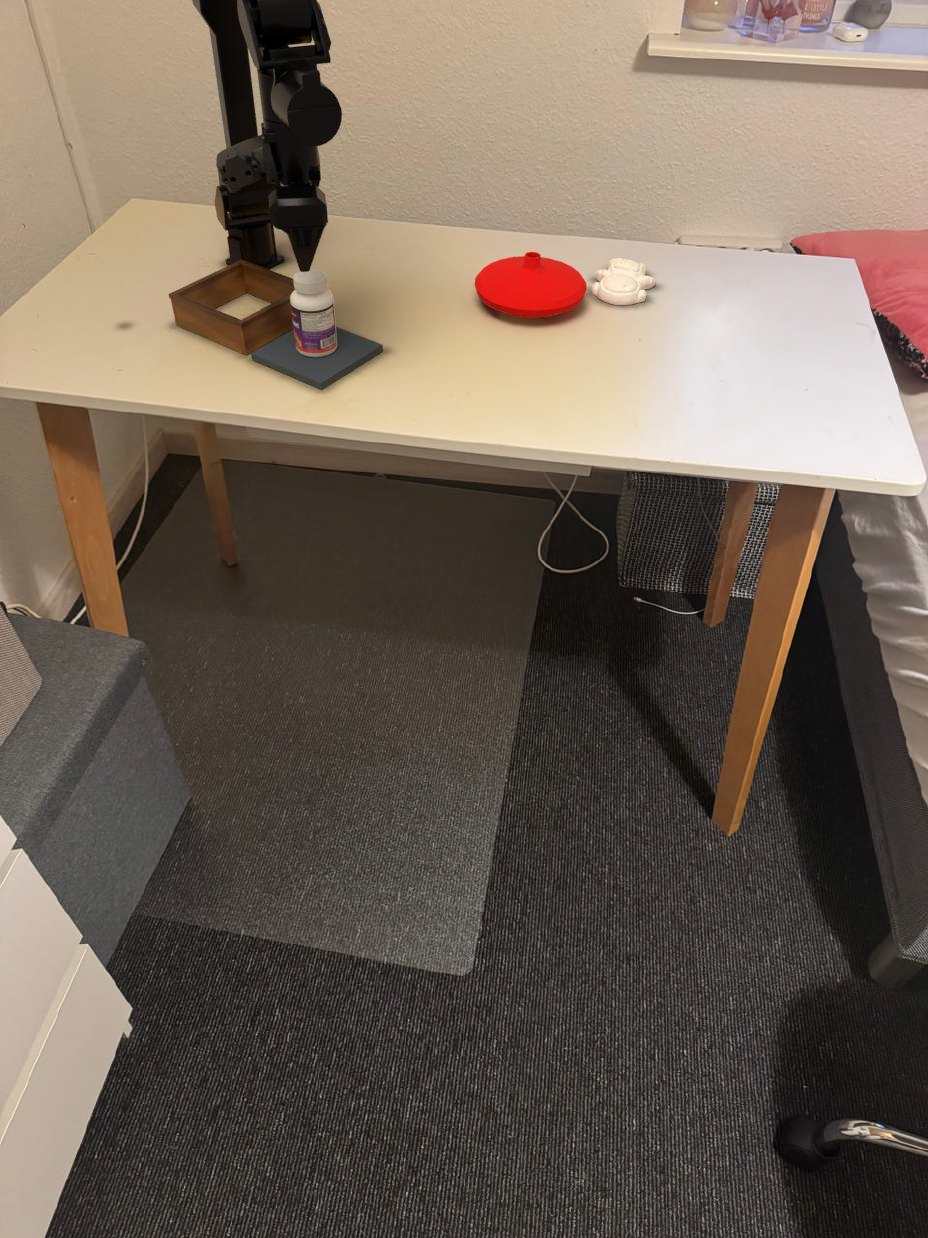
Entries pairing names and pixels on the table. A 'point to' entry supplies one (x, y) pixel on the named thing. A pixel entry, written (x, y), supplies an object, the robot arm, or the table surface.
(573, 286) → the flat cone with hole
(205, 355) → the table surface
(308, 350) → the pill bottle
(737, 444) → the table surface
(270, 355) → the mat
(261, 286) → the wooden square frame
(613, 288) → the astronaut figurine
